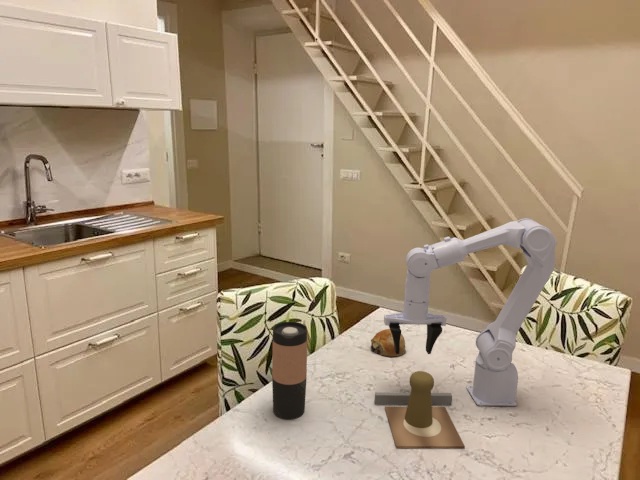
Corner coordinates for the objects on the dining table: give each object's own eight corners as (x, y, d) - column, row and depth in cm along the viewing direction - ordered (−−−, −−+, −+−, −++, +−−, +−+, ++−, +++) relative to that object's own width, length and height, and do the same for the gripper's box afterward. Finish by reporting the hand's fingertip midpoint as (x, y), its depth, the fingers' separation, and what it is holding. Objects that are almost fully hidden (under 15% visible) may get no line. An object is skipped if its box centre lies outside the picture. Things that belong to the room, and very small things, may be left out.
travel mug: (290, 397, 112) (291, 318, 108) (312, 411, 107) (314, 329, 102) (265, 409, 107) (265, 327, 102) (287, 424, 102) (288, 339, 97)
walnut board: (444, 408, 109) (444, 406, 109) (464, 448, 96) (464, 445, 96) (384, 408, 109) (384, 405, 109) (396, 448, 95) (396, 445, 95)
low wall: (449, 402, 112) (450, 392, 111) (451, 405, 111) (452, 395, 110) (374, 401, 111) (374, 392, 111) (375, 404, 110) (375, 395, 110)
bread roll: (401, 370, 134) (414, 347, 132) (369, 354, 133) (382, 331, 131) (395, 353, 144) (408, 332, 142) (366, 339, 143) (378, 317, 141)
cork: (434, 429, 101) (438, 382, 98) (405, 426, 101) (409, 380, 99) (430, 412, 107) (434, 368, 104) (403, 410, 107) (406, 366, 105)
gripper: (442, 293, 115) (437, 344, 118) (383, 292, 115) (380, 344, 118) (450, 304, 108) (445, 358, 112) (388, 303, 108) (384, 357, 111)
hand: (412, 352), depth 114 cm, fingers open, 7 cm apart
